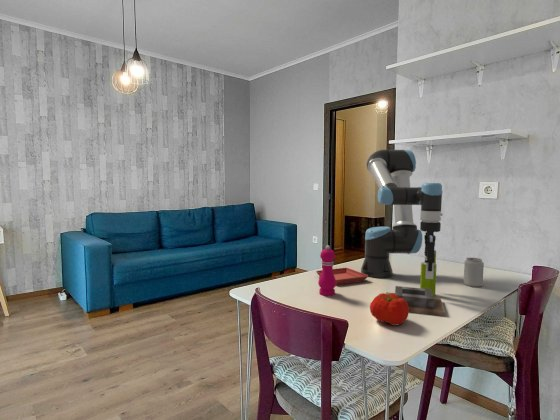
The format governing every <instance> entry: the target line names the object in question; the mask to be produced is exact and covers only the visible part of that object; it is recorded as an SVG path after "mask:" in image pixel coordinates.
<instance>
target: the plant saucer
mask: <svg viewBox="0 0 560 420" xmlns="http://www.w3.org/2000/svg"><path fill="white" fill-rule="evenodd" d="M315 272H316V274H317V275H318V276H319V277H320V276H321V273H322V269H321V270H316V271H315ZM333 274H334V277H335V279H336V286H337V285H338V286H339V285H346V284H353V283H361V282H364V281H365V280H366V279H367V278H368V275H366V274H363V273H361V271H360V272H359V271H358V270H354V269H351V268H349V267H339V268H333Z"/></svg>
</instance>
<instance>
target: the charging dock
mask: <svg viewBox="0 0 560 420" xmlns="http://www.w3.org/2000/svg"><path fill="white" fill-rule="evenodd" d="M394 290H395V291H394V292H386V293H385V294H387V295H388V294H390V293H392V294H395V295H397V296H399V298H402V299H405V301H406V302H407V304H408V306H409V313H412V314H423V315H431V316H440V317H446V310H445V307H444V303H443V301H442V299H441V297H437V296H436V297H435V296H433V293H432V290H431V289H422V288H420V287H409V286H400V285H399V286H398V285H395V288H394Z"/></svg>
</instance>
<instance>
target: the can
mask: <svg viewBox="0 0 560 420" xmlns="http://www.w3.org/2000/svg"><path fill="white" fill-rule="evenodd" d="M484 264H485V263H484V262H483V259H482V258H479V257H467V258H466V259H465V260H464V267H463V268H464V269H463V283H464V284H465V285H466V286H467V287H472V288H480V287H482V286H483V284H484Z"/></svg>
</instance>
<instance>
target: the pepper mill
mask: <svg viewBox="0 0 560 420" xmlns="http://www.w3.org/2000/svg"><path fill="white" fill-rule="evenodd" d="M320 251H321V252H320V254H319V257H320V259H321V265H322V269H321V270H322V273H321V276H319V277H318V281H317V282H318V286H319V290H318V292H319V295H321V296H325V297H331V296H334V295H335V294H336V291H335V290H336V289H335V288H336V286H337V285H336V279H335V277H334V274H333V269H334V268H333V267H334V265H335V263H334V262H335V261H334V259H336V254H335V251H334V250H333V249H331V246H330V245H328V244H327V245H326V246H325V249H323V250H320Z"/></svg>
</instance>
